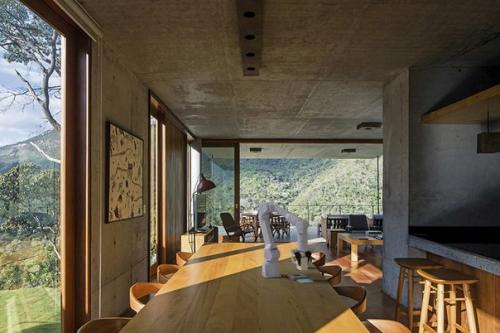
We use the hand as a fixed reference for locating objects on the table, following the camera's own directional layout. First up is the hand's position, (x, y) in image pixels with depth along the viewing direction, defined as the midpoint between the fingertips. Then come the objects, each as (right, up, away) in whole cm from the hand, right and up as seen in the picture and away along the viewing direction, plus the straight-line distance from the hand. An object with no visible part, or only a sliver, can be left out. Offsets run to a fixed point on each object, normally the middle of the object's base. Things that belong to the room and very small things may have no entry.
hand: (303, 265), depth 222 cm
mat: (+1, -8, -3) cm, 9 cm away
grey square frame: (-3, -9, +6) cm, 11 cm away
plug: (0, -3, 0) cm, 3 cm away
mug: (+2, -11, +33) cm, 35 cm away
